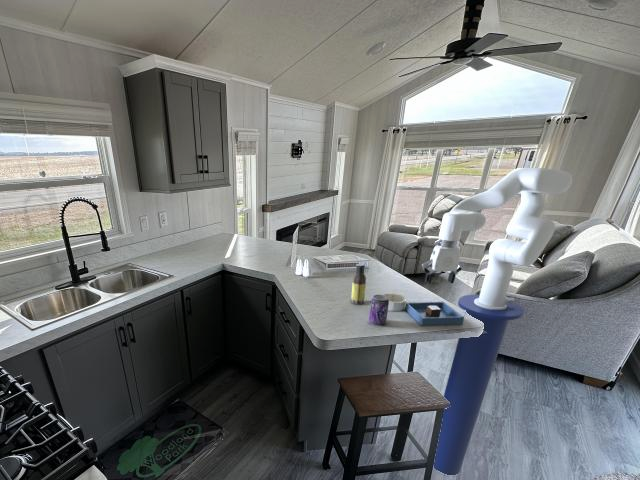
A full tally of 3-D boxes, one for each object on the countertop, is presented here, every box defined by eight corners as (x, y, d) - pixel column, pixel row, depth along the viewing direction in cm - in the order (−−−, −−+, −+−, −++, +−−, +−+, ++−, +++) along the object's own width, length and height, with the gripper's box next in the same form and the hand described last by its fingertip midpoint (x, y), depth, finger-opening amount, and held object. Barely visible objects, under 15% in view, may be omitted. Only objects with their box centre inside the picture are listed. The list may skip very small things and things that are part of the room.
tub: (441, 308, 154) (443, 301, 153) (462, 324, 140) (464, 317, 138) (404, 309, 155) (406, 302, 154) (421, 325, 140) (423, 318, 139)
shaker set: (313, 277, 200) (314, 260, 196) (308, 279, 198) (308, 261, 194) (300, 272, 210) (300, 256, 205) (295, 274, 208) (295, 257, 203)
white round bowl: (398, 301, 164) (400, 293, 162) (408, 310, 153) (410, 302, 152) (376, 302, 164) (377, 293, 162) (385, 311, 154) (386, 302, 152)
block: (434, 313, 149) (436, 305, 147) (439, 317, 145) (441, 309, 144) (425, 313, 149) (427, 305, 147) (430, 317, 145) (431, 309, 144)
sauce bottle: (363, 300, 167) (367, 262, 159) (364, 305, 161) (369, 266, 153) (350, 299, 168) (354, 262, 160) (350, 304, 163) (354, 266, 155)
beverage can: (370, 325, 142) (373, 300, 137) (367, 318, 148) (370, 294, 144) (387, 326, 141) (391, 300, 136) (383, 318, 147) (387, 294, 142)
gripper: (431, 246, 131) (422, 285, 138) (475, 245, 130) (464, 285, 137) (422, 241, 138) (414, 279, 145) (463, 241, 137) (454, 279, 144)
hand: (438, 282), depth 141 cm, fingers open, 9 cm apart
